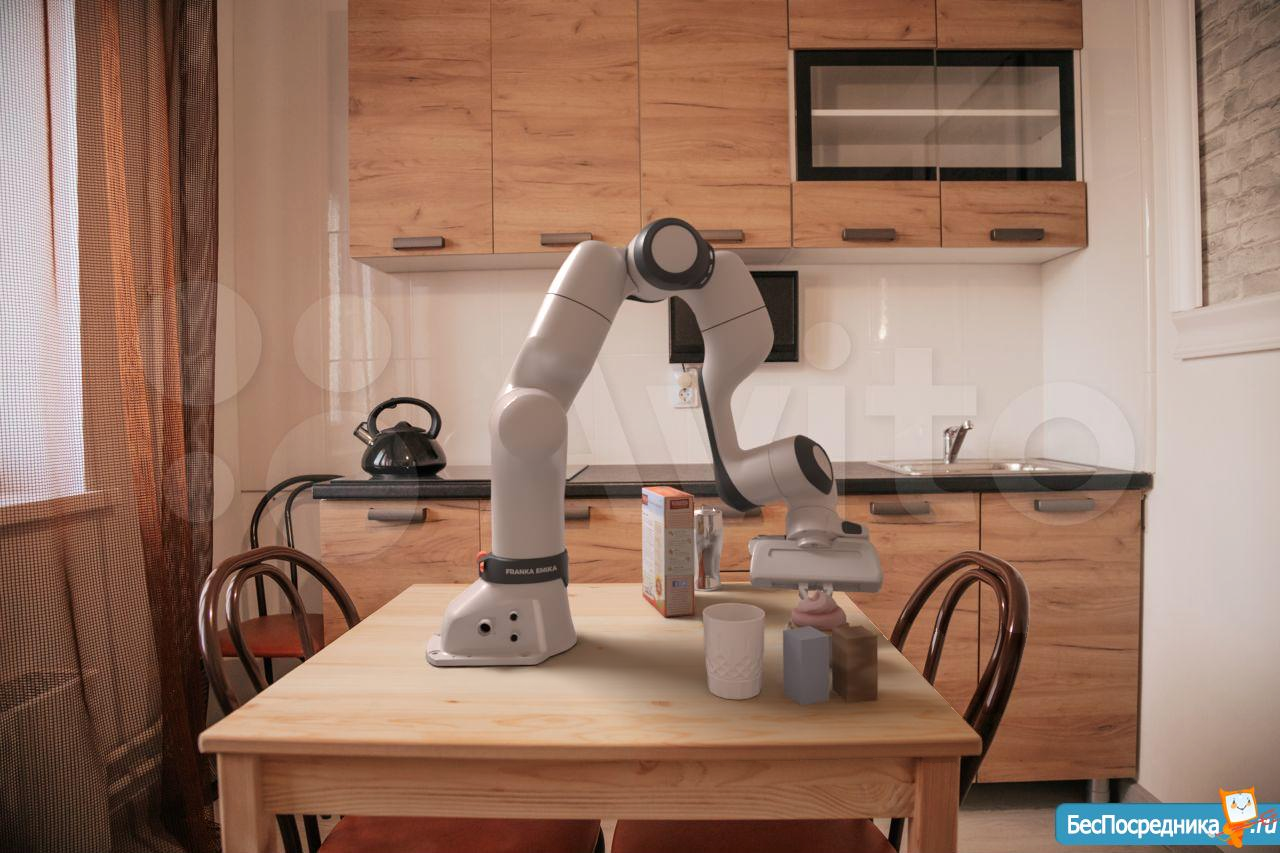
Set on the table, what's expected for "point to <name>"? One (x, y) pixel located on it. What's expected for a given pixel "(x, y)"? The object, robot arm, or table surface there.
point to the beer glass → (707, 549)
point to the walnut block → (855, 664)
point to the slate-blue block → (806, 665)
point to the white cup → (734, 649)
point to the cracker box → (668, 550)
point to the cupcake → (819, 616)
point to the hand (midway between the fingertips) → (816, 613)
